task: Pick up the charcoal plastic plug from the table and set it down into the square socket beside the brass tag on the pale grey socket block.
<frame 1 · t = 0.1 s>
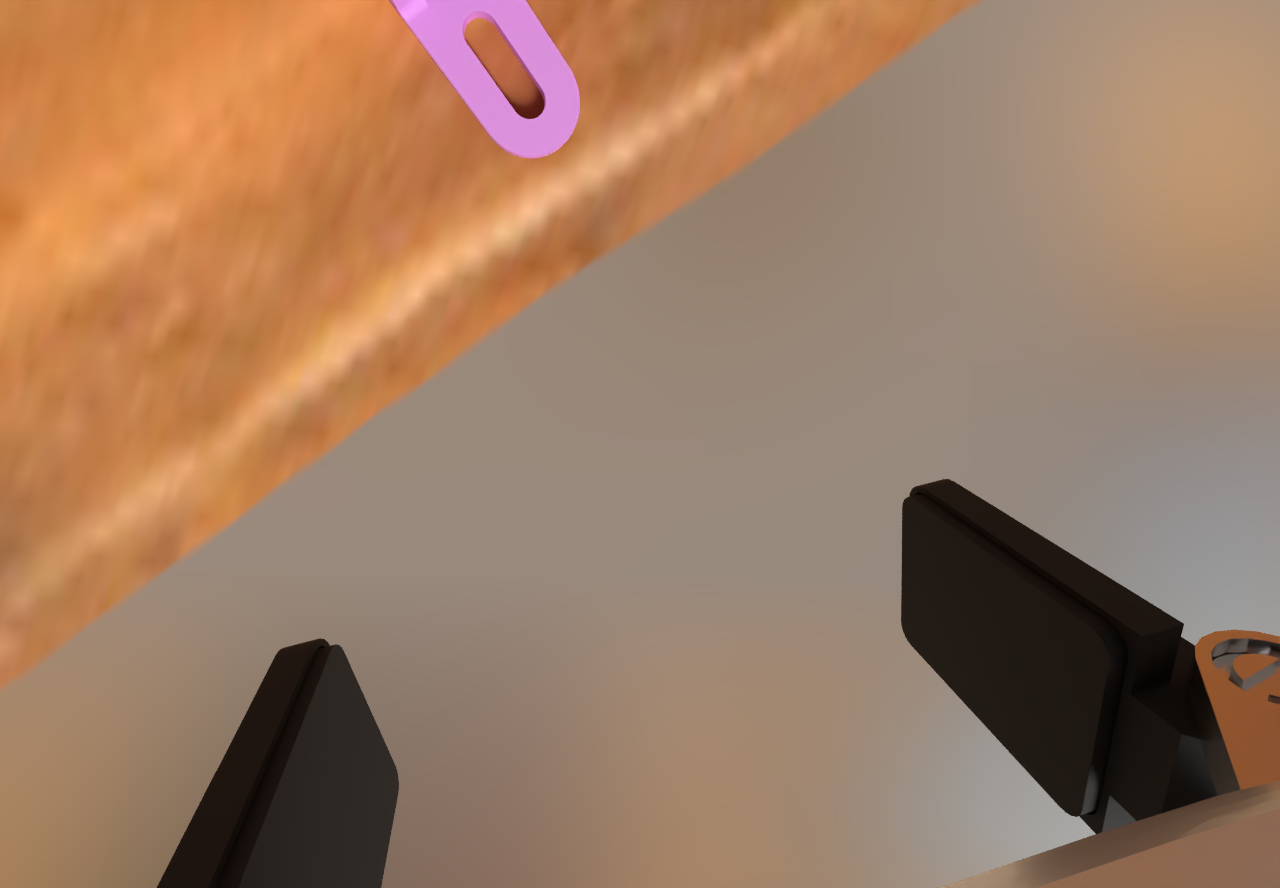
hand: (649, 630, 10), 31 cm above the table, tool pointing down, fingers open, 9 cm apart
bracket: (482, 39, 33), on the table
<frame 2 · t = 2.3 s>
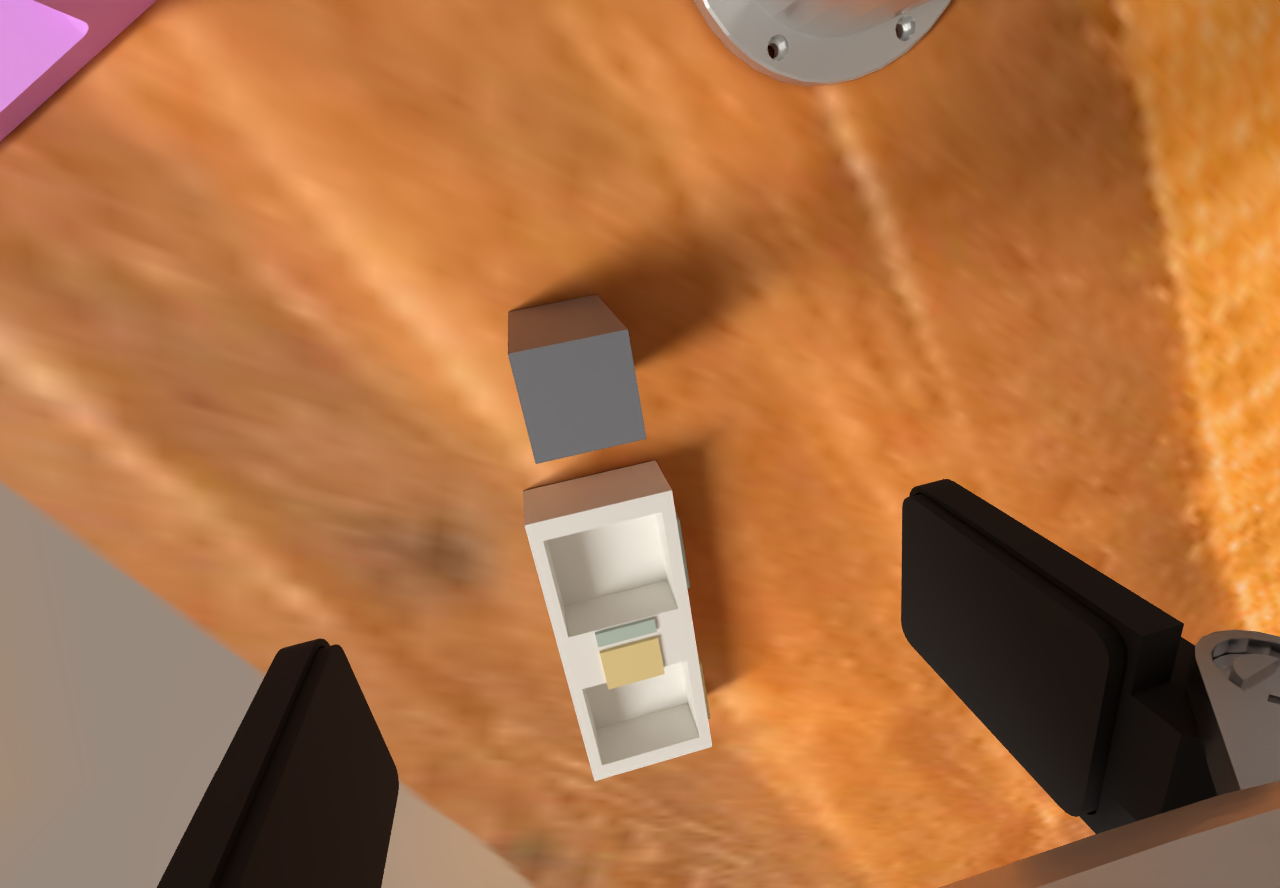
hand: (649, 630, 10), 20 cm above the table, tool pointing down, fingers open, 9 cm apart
plug: (562, 346, 28), on the table
socket block: (618, 607, 34), on the table
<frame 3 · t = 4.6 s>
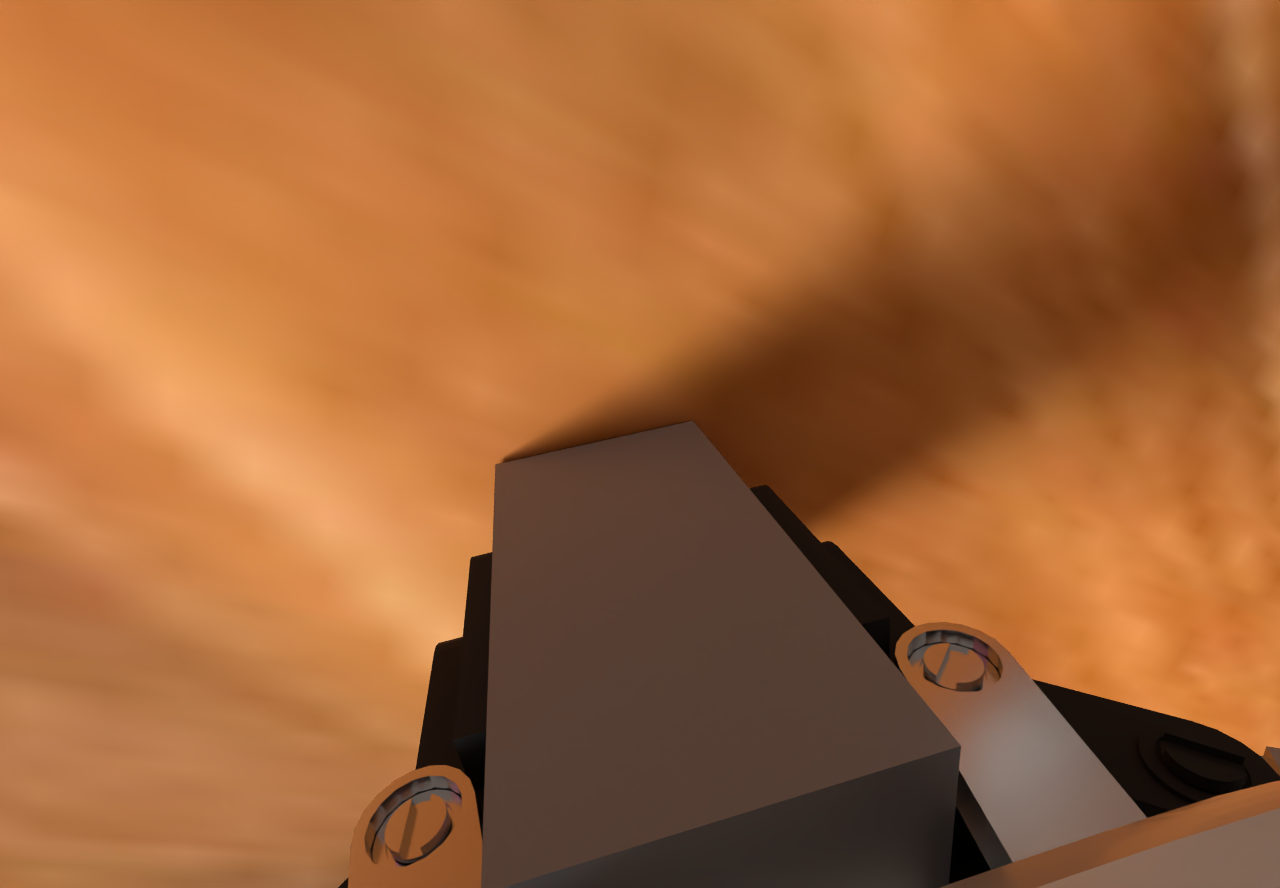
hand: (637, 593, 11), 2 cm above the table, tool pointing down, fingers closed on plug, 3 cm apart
plug: (613, 527, 13), on the table, touching gripper
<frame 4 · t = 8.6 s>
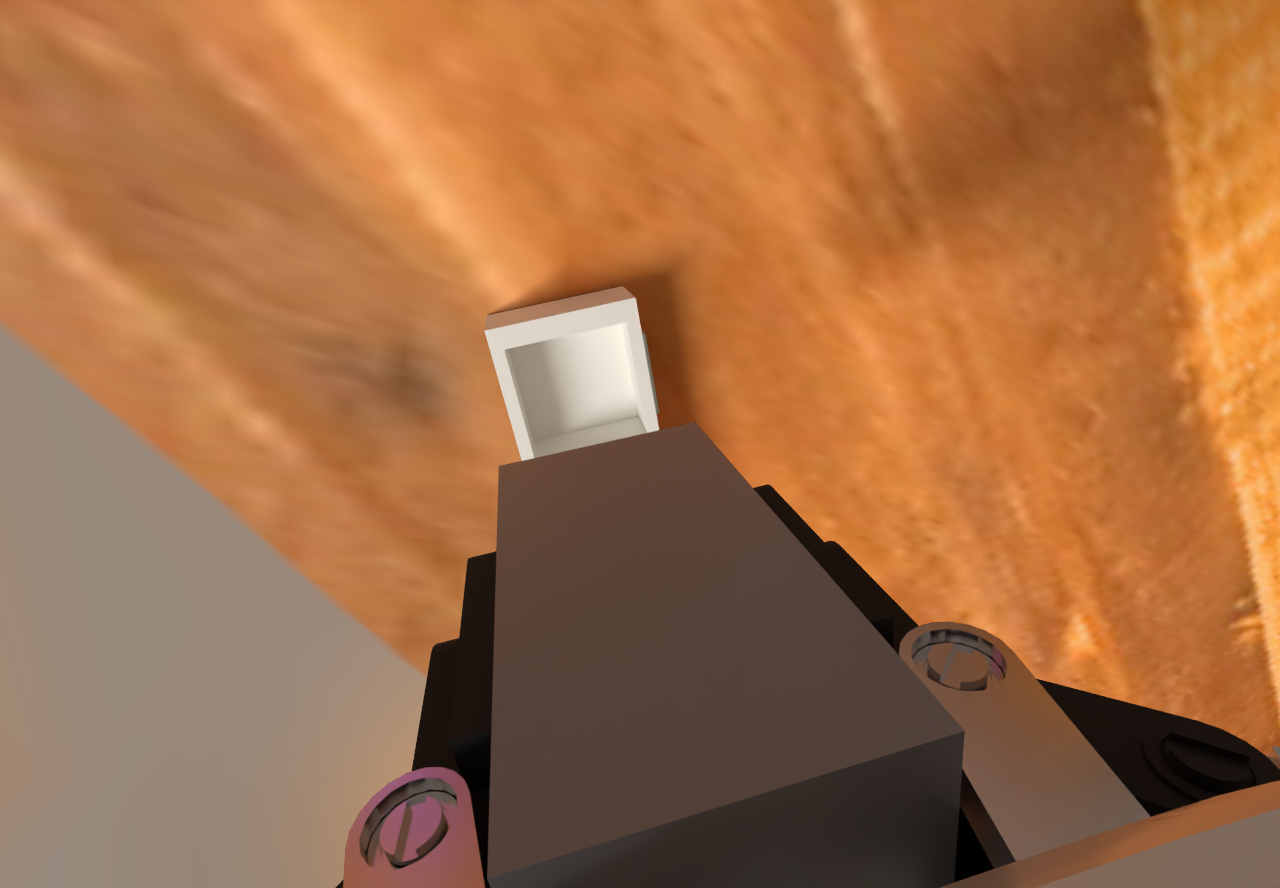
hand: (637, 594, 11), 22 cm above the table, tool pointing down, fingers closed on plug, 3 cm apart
plug: (616, 529, 13), point 20 cm above the table, touching gripper
socket block: (590, 450, 34), on the table
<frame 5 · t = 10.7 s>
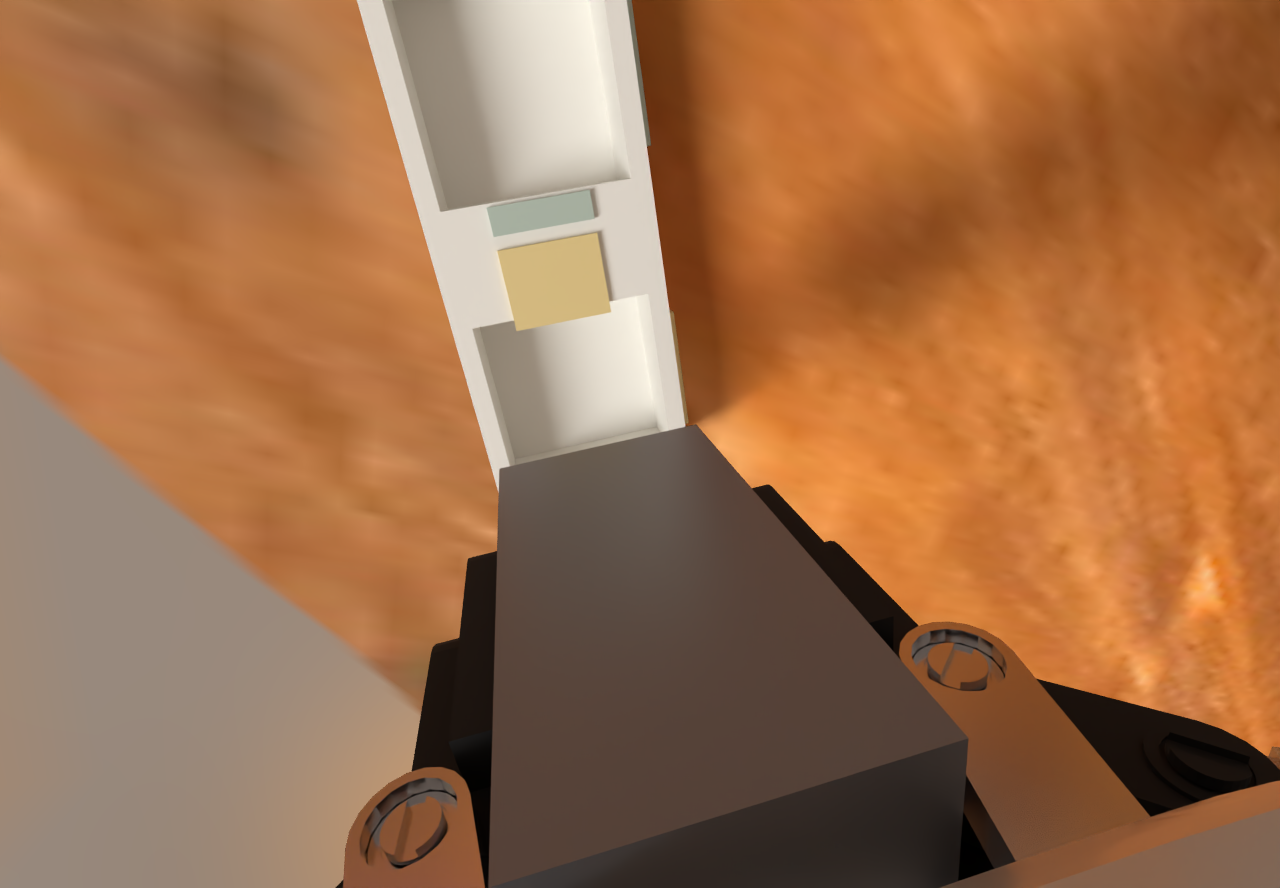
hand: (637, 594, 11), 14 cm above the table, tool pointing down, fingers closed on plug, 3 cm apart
plug: (616, 531, 13), point 12 cm above the table, touching gripper
socket block: (543, 245, 22), on the table
when the fingers open (5 cm above the table, at t = 12.6 s): plug drops 2 cm, resting on socket block.
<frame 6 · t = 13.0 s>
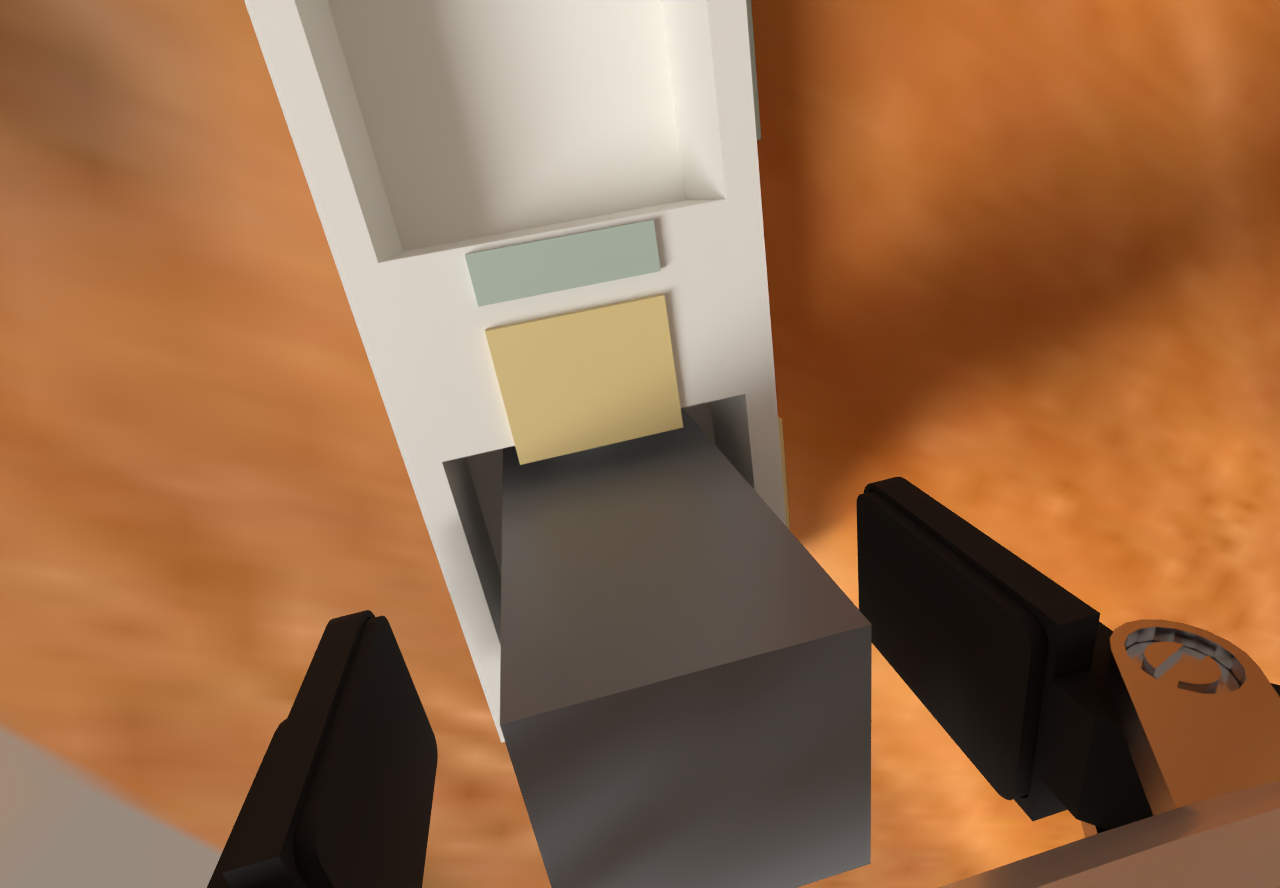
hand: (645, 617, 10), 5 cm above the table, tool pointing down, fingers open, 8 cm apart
plug: (607, 499, 14), point 1 cm above the table, touching socket block
socket block: (562, 303, 14), on the table
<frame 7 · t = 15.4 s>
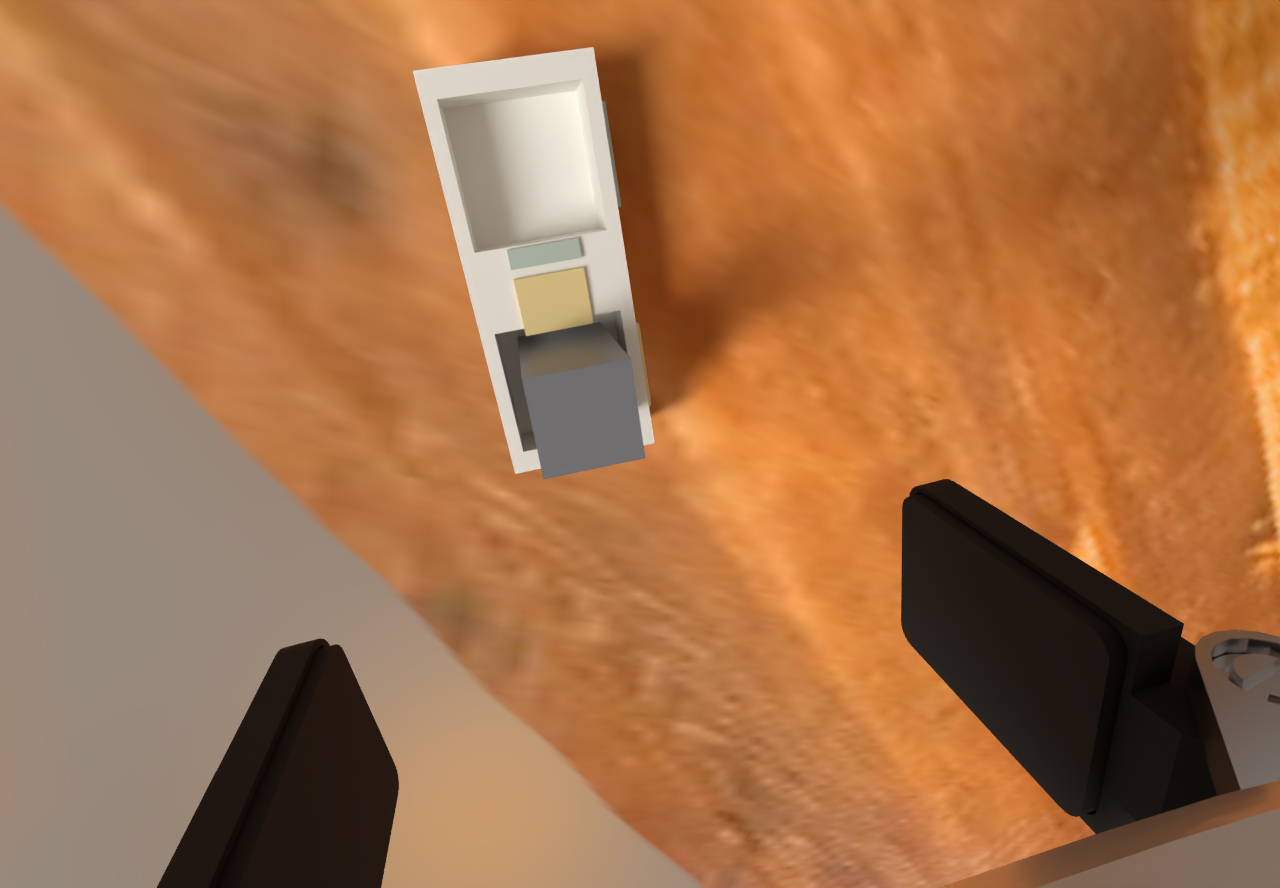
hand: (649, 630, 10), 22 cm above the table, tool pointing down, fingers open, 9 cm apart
plug: (566, 369, 30), point 1 cm above the table, touching socket block
socket block: (545, 274, 29), on the table
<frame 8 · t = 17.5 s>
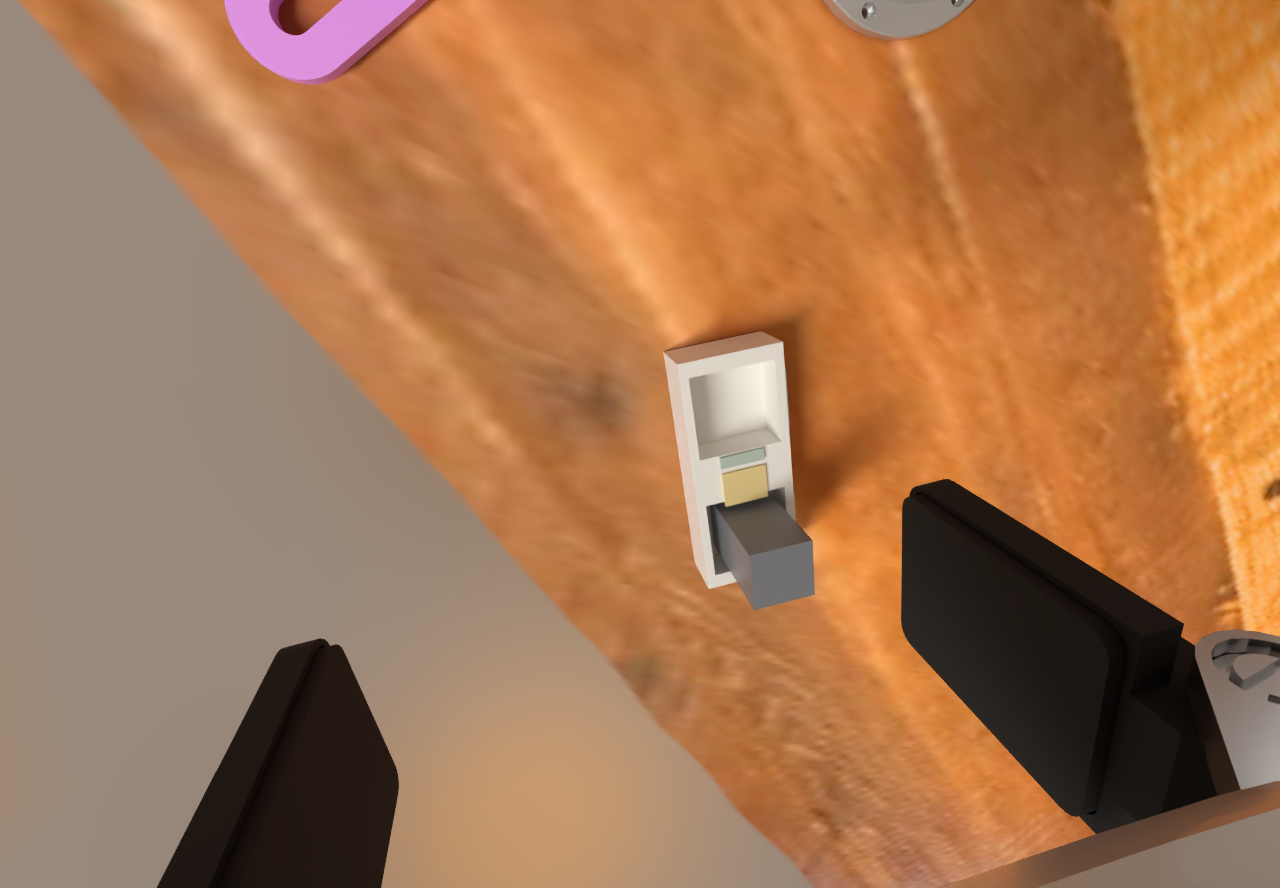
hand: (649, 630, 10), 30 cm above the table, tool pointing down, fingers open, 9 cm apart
plug: (737, 514, 44), point 1 cm above the table, touching socket block
socket block: (725, 454, 44), on the table
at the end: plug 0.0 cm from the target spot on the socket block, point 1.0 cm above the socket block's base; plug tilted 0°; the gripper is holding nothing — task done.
